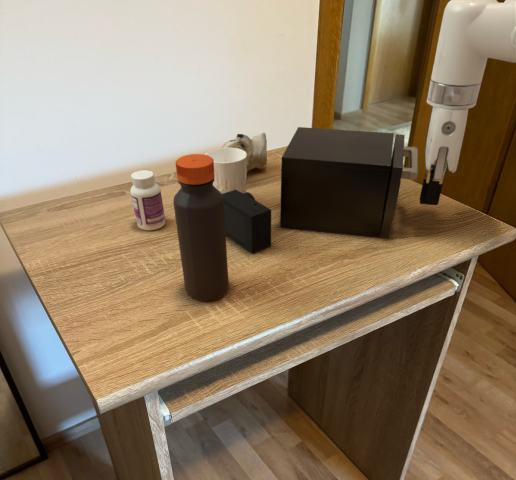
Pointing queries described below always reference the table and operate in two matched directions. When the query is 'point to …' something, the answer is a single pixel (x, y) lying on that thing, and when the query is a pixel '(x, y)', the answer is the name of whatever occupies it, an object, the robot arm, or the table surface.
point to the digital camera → (247, 221)
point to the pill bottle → (147, 201)
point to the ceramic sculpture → (251, 149)
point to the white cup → (229, 169)
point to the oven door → (397, 180)
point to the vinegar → (201, 228)
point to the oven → (335, 181)
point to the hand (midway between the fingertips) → (428, 202)
